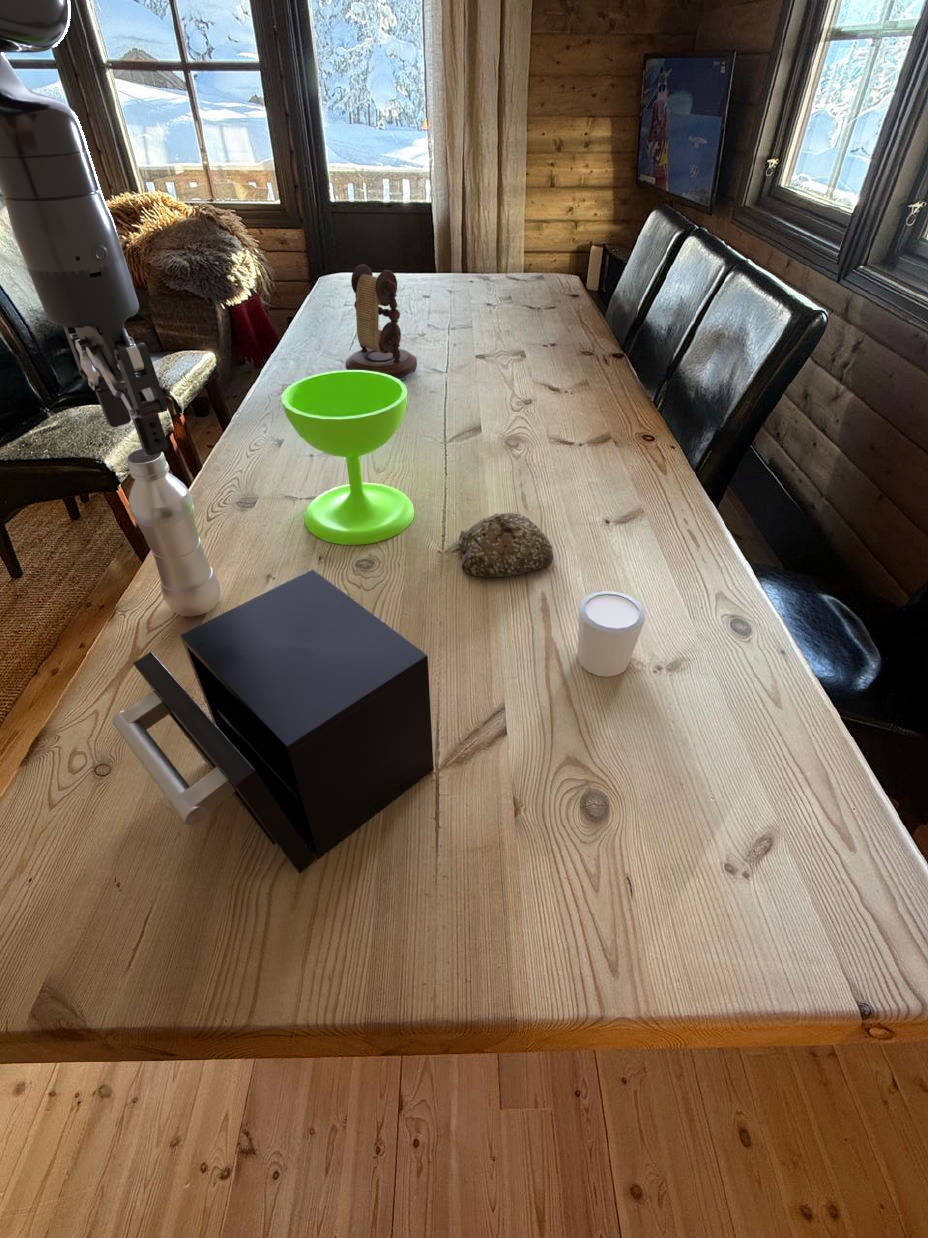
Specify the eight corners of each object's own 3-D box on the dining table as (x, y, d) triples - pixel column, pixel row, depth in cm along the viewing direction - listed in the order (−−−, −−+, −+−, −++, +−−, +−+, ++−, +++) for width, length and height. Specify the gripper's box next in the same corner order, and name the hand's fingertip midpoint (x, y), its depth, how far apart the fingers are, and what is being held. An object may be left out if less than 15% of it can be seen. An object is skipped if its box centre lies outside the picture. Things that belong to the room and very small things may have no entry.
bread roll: (560, 573, 85) (564, 541, 82) (467, 585, 83) (467, 553, 80) (533, 521, 94) (535, 490, 91) (448, 530, 92) (447, 499, 89)
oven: (318, 859, 55) (286, 747, 45) (223, 749, 64) (179, 634, 54) (434, 770, 62) (427, 655, 52) (333, 681, 70) (312, 568, 61)
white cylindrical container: (611, 690, 69) (621, 642, 65) (559, 659, 73) (565, 611, 68) (646, 657, 73) (658, 609, 69) (595, 629, 77) (603, 581, 72)
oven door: (261, 908, 52) (183, 826, 42) (170, 786, 61) (86, 692, 50) (315, 860, 55) (255, 769, 44) (220, 749, 63) (150, 651, 53)
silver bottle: (221, 584, 83) (176, 436, 70) (227, 616, 79) (179, 464, 65) (168, 595, 82) (111, 446, 68) (170, 629, 77) (109, 476, 64)
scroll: (331, 374, 137) (317, 268, 124) (382, 355, 145) (374, 254, 132) (381, 392, 130) (372, 282, 117) (431, 371, 138) (428, 266, 125)
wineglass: (437, 509, 97) (433, 389, 85) (358, 559, 87) (341, 431, 76) (361, 476, 104) (348, 361, 93) (281, 518, 95) (254, 396, 83)
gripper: (-1, 249, 57) (73, 426, 68) (59, 281, 49) (131, 475, 60) (87, 236, 61) (144, 405, 72) (155, 263, 53) (207, 449, 64)
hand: (138, 437), depth 66 cm, fingers open, 8 cm apart
